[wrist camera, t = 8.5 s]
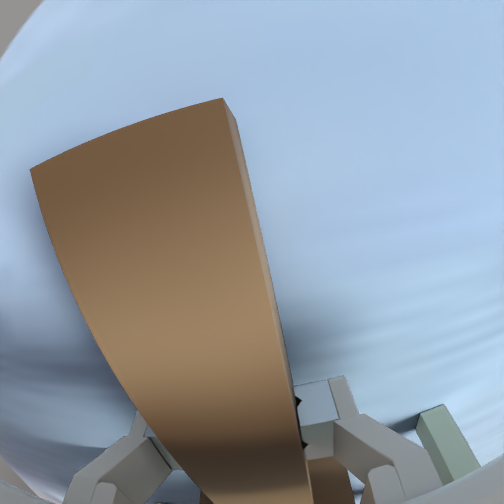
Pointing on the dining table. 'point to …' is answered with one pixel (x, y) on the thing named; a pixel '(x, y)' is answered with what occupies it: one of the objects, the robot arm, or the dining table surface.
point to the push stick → (186, 301)
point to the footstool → (444, 445)
